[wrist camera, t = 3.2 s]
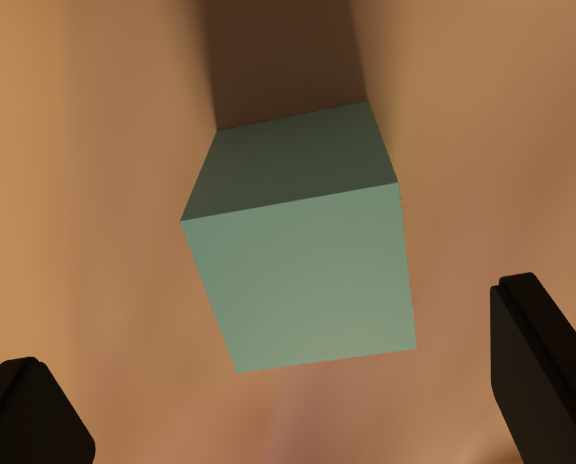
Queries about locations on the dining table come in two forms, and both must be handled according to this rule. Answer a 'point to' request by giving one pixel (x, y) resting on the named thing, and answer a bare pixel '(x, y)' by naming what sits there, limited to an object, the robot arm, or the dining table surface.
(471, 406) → the dining table surface
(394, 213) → the teal block
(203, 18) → the dining table surface
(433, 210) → the dining table surface
